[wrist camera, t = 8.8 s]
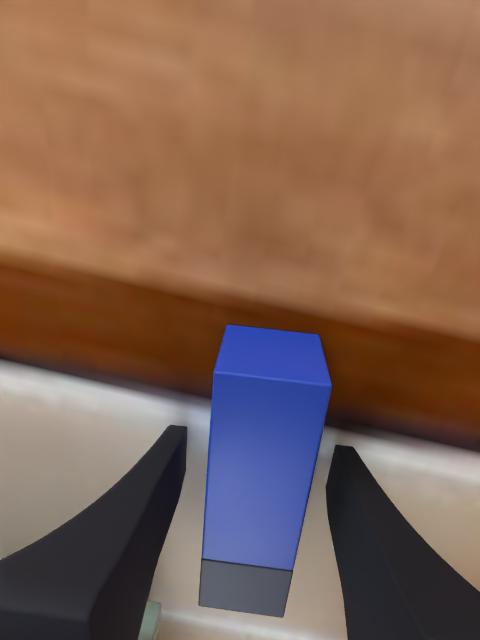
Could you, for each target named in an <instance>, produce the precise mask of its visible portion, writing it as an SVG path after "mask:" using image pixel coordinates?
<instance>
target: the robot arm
mask: <svg viewBox="0 0 480 640" xmlns="http://www.w3.org/2000/svg"><path fill="white" fill-rule="evenodd" d="M186 446H187V427H185V426H176V425H170V426H168V427H167V428H166V430H165V431H164V432H163V434H162V435H161V436H160V437H159V439H158V440H157V441H156V442H155V443H154V445H153V446H152V447H151V448H150V449H149V450H148V452H147V453H146V454H145V455H144V456H143V457H142V458H141V459H140V460H139V461H138V463H137V464H136V465H135V466H134V467H133V468H132V469H131V470H130V471H129V472H128V473H127V474H126V475H125V476H123V477H122V478H121V479H120V480H119V481H118V482H117V483H116V484H115V485H114V486H113V487H112V488H111V489H109V490H108V491H107V492H106V493H105V494H104V495H102V496H101V497H100V498H99V499H98V500H96V501H95V502H94V503H92V504H91V505H90V506H89V507H87V508H86V509H85V510H83V511H82V512H81V513H79V514H78V515H77V516H75V517H74V518H72V519H71V520H69V521H68V522H66V523H65V524H63V525H62V526H60V527H59V528H57V529H56V530H54V531H52V532H51V533H49V534H48V535H46V536H45V537H43V538H41V539H40V540H38V541H36V542H34V543H33V544H31V545H29V546H27V547H25V548H23V549H21V550H20V551H18V552H16V553H14V554H12V555H10V556H8V557H6V558H4V559H2V560H0V640H138V637H139V633H140V629H141V624H142V620H143V616H144V612H145V608H146V604H147V600H148V596H149V592H150V588H151V583H152V579H153V575H154V572H155V568H156V565H157V562H158V558H159V556H160V553H161V550H162V547H163V544H164V541H165V538H166V535H167V532H168V530H169V527H170V524H171V521H172V518H173V515H174V512H175V509H176V506H177V503H178V500H179V497H180V493H181V489H182V484H183V480H184V475H185V471H186ZM326 500H327V512H328V520H329V525H330V530H331V535H332V541H333V546H334V551H335V556H336V561H337V566H338V571H339V576H340V581H341V586H342V593H343V599H344V608H345V618H346V627H347V637H348V640H480V592H479V591H478V590H477V589H476V588H475V587H473V586H472V585H471V584H470V583H469V582H468V581H466V580H465V579H464V578H463V577H462V576H461V575H460V574H458V573H457V572H456V571H455V570H454V569H453V568H452V567H451V566H450V565H449V564H448V563H447V562H446V561H445V560H443V559H442V558H441V557H440V556H439V555H438V554H437V553H436V552H435V551H434V550H433V549H432V548H431V547H430V546H429V545H428V544H427V543H426V541H425V540H424V539H423V538H422V537H421V536H420V535H419V534H418V533H417V532H416V531H415V530H414V529H413V527H412V526H411V525H410V524H409V523H408V522H407V520H406V519H405V518H404V517H403V516H402V514H401V513H400V512H399V511H398V509H397V508H396V507H395V506H394V504H393V503H392V502H391V500H390V499H389V498H388V496H387V495H386V494H385V492H384V491H383V490H382V488H381V487H380V486H379V484H378V483H377V481H376V480H375V479H374V477H373V476H372V474H371V473H370V471H369V470H368V468H367V467H366V465H365V464H364V462H363V461H362V459H361V458H360V456H359V455H358V453H357V452H356V450H355V449H354V448H353V447H350V446H342V445H335V449H334V454H333V458H332V462H331V467H330V471H329V475H328V479H327V484H326Z"/></svg>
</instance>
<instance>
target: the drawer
mask: <svg viewBox="0 0 480 640" xmlns="http://www.w3.org/2000/svg"><path fill="white" fill-rule="evenodd" d="M160 622H161V603H159V602H152V601H147V604H146V608H145V612H144V616H143V620H142V624H141V629H140V633H139V637H138V640H156V639H157V635H158V631H159V627H160Z"/></svg>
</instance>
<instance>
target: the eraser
mask: <svg viewBox="0 0 480 640" xmlns="http://www.w3.org/2000/svg"><path fill="white" fill-rule="evenodd" d="M331 390H332V383H331V379H330V376H329V372H328V368H327V364H326V360H325V356H324V352H323V348H322V344H321V340H320V336H319V335H318V334H310V333H301V332H291V331H282V330H273V329H264V328H255V327H246V326H236V325H227V326H226V329H225V333H224V336H223V340H222V344H221V347H220V351H219V355H218V358H217V362H216V365H215V369H214V373H213V389H212V404H211V420H210V435H209V450H208V466H207V481H206V497H205V512H204V528H203V543H202V558H201V573H200V589H199V606H202V607H209V608H217V609H224V610H231V611H238V612H245V613H253V614H260V615H267V616H274V617H281V618H282V617H283V616H284V612H285V607H286V602H287V598H288V593H289V588H290V584H291V579H292V574H293V568H294V564H295V559H296V555H297V550H298V545H299V540H300V536H301V531H302V526H303V522H304V517H305V512H306V507H307V503H308V498H309V493H310V489H311V484H312V479H313V474H314V470H315V465H316V460H317V456H318V451H319V446H320V441H321V437H322V432H323V427H324V423H325V418H326V413H327V408H328V404H329V399H330V394H331Z"/></svg>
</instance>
